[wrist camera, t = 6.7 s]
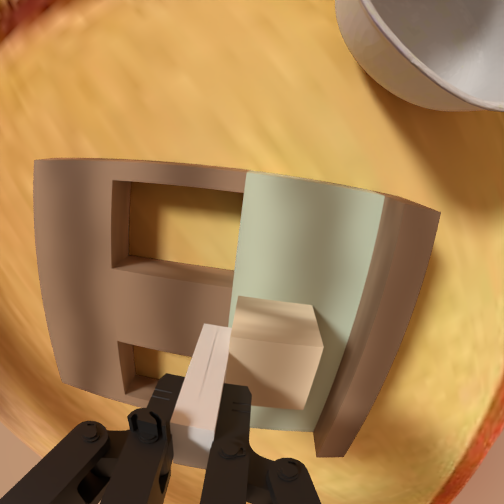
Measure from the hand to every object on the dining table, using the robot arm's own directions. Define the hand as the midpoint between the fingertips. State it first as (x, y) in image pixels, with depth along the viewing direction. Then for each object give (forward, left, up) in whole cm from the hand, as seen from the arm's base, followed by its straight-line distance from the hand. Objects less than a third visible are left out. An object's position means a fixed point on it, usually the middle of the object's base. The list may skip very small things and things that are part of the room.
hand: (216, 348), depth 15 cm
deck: (-2, 0, -5) cm, 5 cm away
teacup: (+8, +20, -5) cm, 22 cm away
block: (+3, 0, -2) cm, 3 cm away
